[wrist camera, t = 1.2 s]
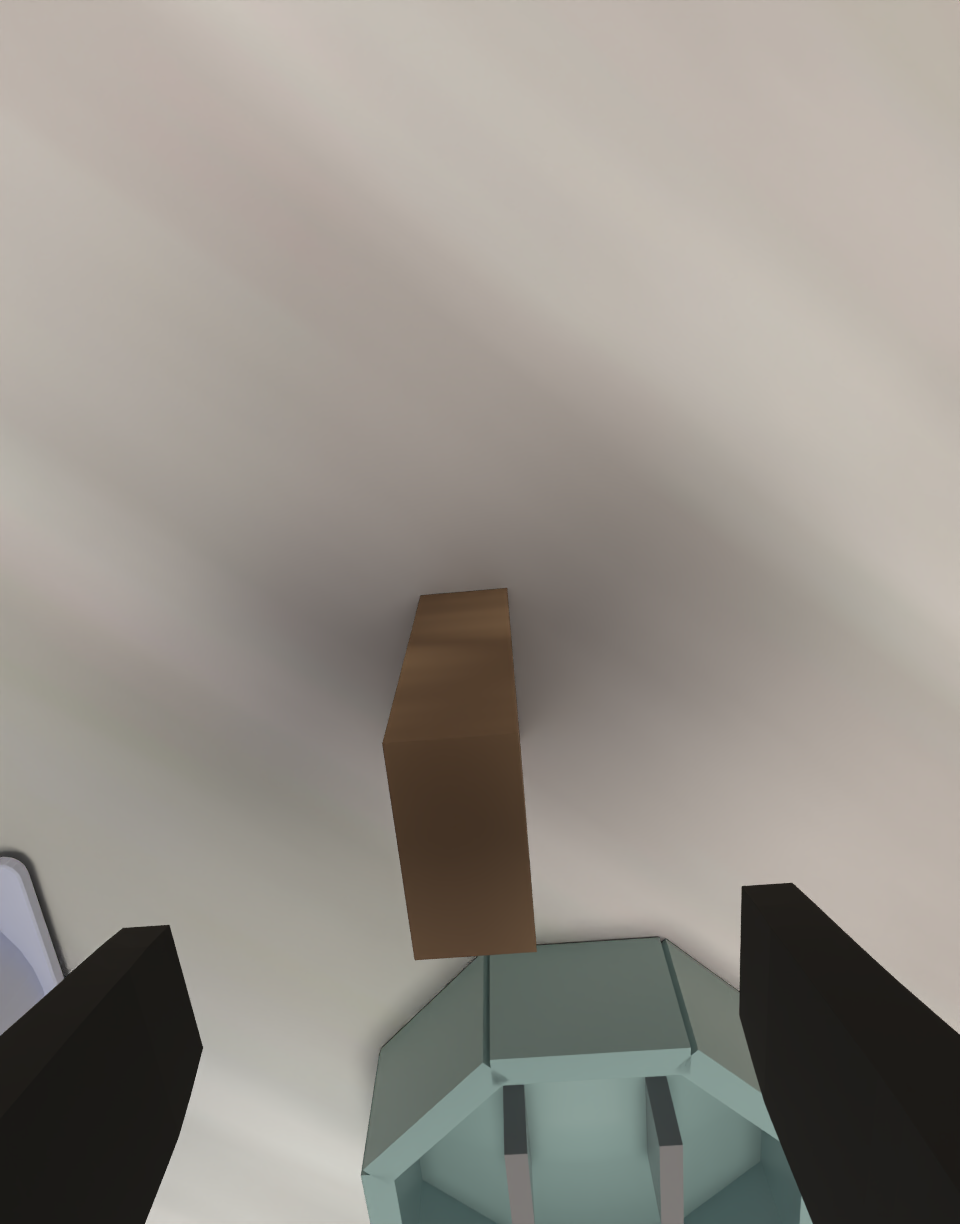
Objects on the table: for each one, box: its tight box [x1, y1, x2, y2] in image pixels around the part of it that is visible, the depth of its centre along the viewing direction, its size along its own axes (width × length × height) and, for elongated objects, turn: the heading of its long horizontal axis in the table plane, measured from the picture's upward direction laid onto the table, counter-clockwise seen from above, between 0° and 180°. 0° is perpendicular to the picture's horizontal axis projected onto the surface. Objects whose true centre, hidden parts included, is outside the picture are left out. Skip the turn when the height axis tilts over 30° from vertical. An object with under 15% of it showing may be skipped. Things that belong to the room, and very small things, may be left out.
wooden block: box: [382, 588, 537, 960], centre depth 16 cm, size 2×4×7 cm, turn 5°
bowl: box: [361, 937, 813, 1224], centre depth 22 cm, size 12×12×4 cm
